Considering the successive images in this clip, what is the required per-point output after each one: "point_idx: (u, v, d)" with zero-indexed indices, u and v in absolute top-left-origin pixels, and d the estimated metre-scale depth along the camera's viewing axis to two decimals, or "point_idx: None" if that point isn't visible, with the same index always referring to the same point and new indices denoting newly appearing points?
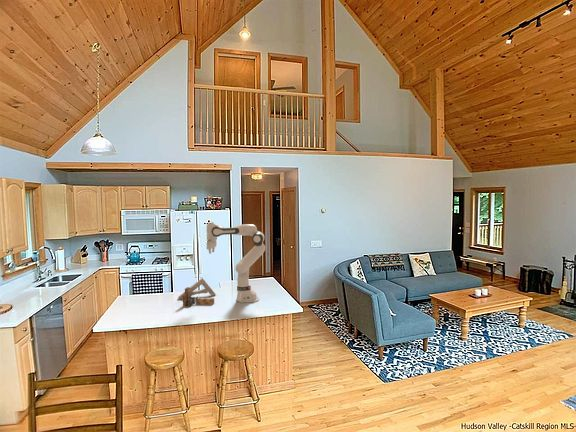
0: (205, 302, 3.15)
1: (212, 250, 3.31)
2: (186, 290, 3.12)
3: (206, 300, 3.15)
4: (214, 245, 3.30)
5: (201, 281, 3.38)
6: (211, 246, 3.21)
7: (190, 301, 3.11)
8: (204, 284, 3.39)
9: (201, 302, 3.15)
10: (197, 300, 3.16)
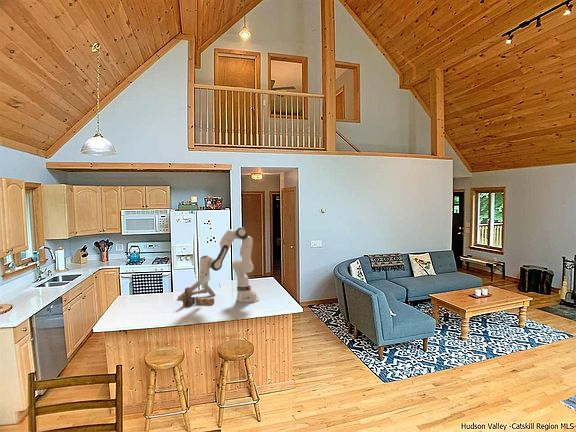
0: (205, 302, 3.15)
1: (204, 286, 3.12)
2: (186, 290, 3.12)
3: (206, 300, 3.15)
4: None
5: None
6: None
7: (190, 301, 3.11)
8: (204, 284, 3.39)
9: (201, 302, 3.15)
10: (197, 300, 3.16)
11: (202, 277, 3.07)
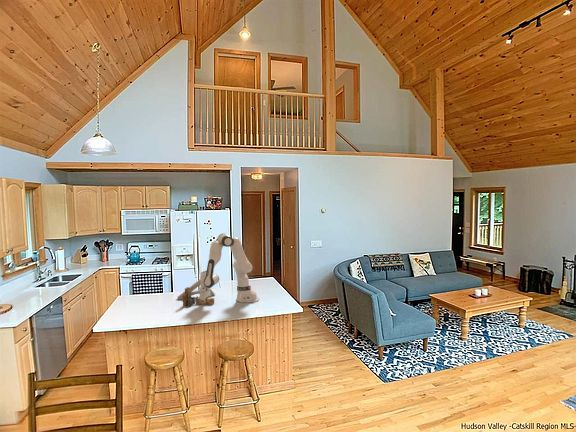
0: None
1: (205, 300, 3.15)
2: (186, 290, 3.12)
3: (206, 300, 3.15)
4: None
5: (200, 281, 3.37)
6: None
7: (190, 301, 3.11)
8: None
9: (201, 302, 3.15)
10: (197, 300, 3.16)
11: (203, 292, 3.07)
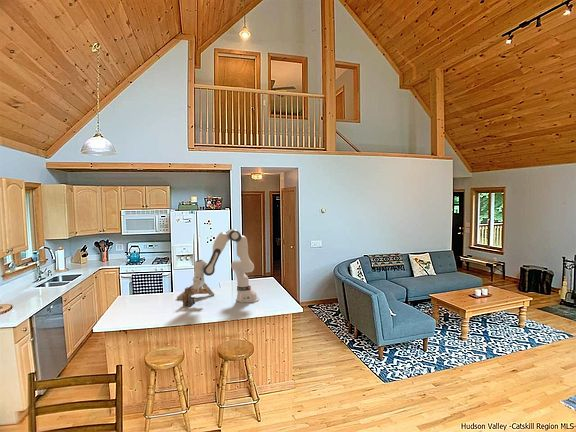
0: (199, 292, 3.12)
1: (199, 290, 3.12)
2: (186, 290, 3.12)
3: (200, 289, 3.12)
4: None
5: None
6: None
7: (190, 301, 3.11)
8: None
9: (195, 292, 3.12)
10: (191, 289, 3.12)
11: (196, 281, 3.04)
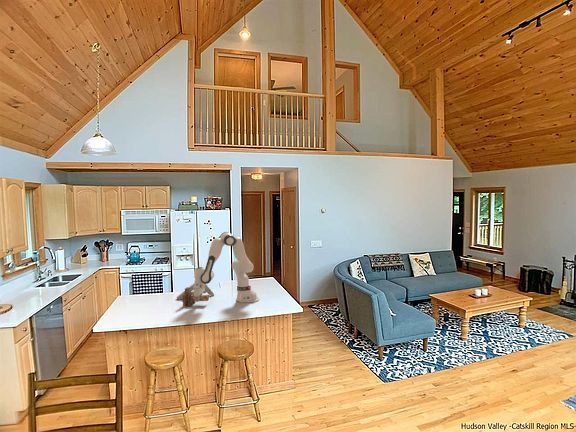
0: None
1: (199, 297, 3.12)
2: (186, 290, 3.12)
3: (200, 297, 3.12)
4: None
5: None
6: None
7: (190, 301, 3.11)
8: None
9: (195, 299, 3.12)
10: (191, 297, 3.13)
11: (197, 289, 3.04)
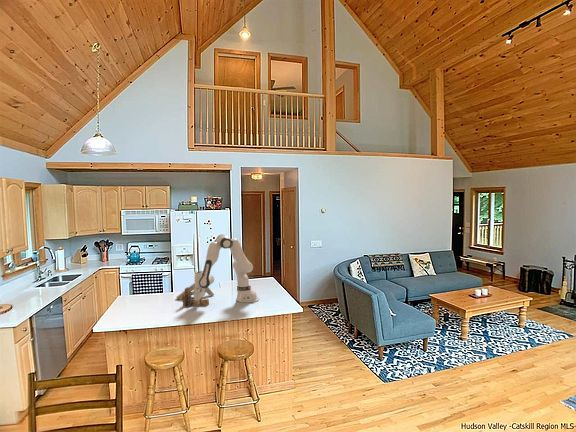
0: None
1: None
2: (186, 290, 3.12)
3: (200, 301, 3.12)
4: None
5: None
6: None
7: (190, 301, 3.11)
8: None
9: (195, 303, 3.13)
10: None
11: (197, 293, 3.05)
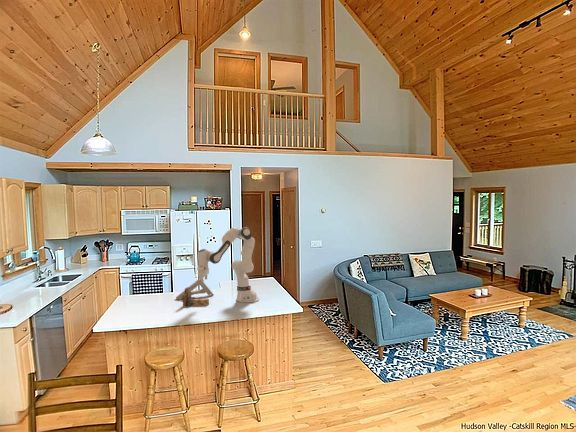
0: (199, 303, 3.12)
1: (203, 280, 3.09)
2: (186, 290, 3.12)
3: (200, 301, 3.12)
4: None
5: (199, 281, 3.37)
6: None
7: (190, 301, 3.11)
8: (202, 284, 3.38)
9: (195, 303, 3.13)
10: None
11: (201, 271, 3.03)
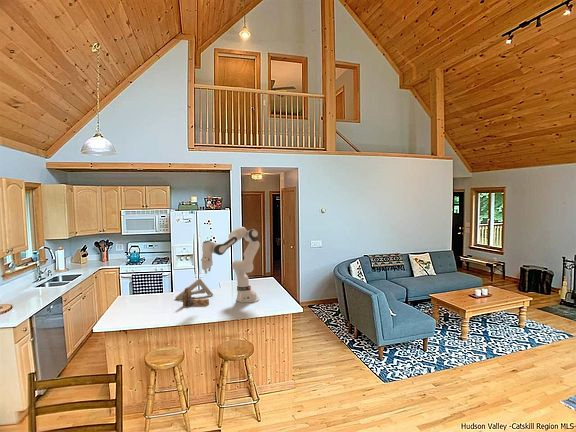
0: (199, 303, 3.12)
1: (206, 271, 3.08)
2: (186, 290, 3.12)
3: (200, 301, 3.12)
4: None
5: (198, 281, 3.37)
6: None
7: (190, 301, 3.11)
8: (202, 284, 3.38)
9: (195, 303, 3.13)
10: None
11: (205, 262, 3.03)
